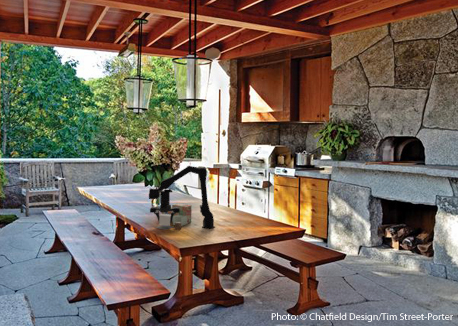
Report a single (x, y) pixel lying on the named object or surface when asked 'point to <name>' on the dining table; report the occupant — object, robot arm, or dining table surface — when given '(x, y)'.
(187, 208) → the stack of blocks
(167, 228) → the slate pad
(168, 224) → the white cover
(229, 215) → the dining table surface
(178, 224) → the letter cube
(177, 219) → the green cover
